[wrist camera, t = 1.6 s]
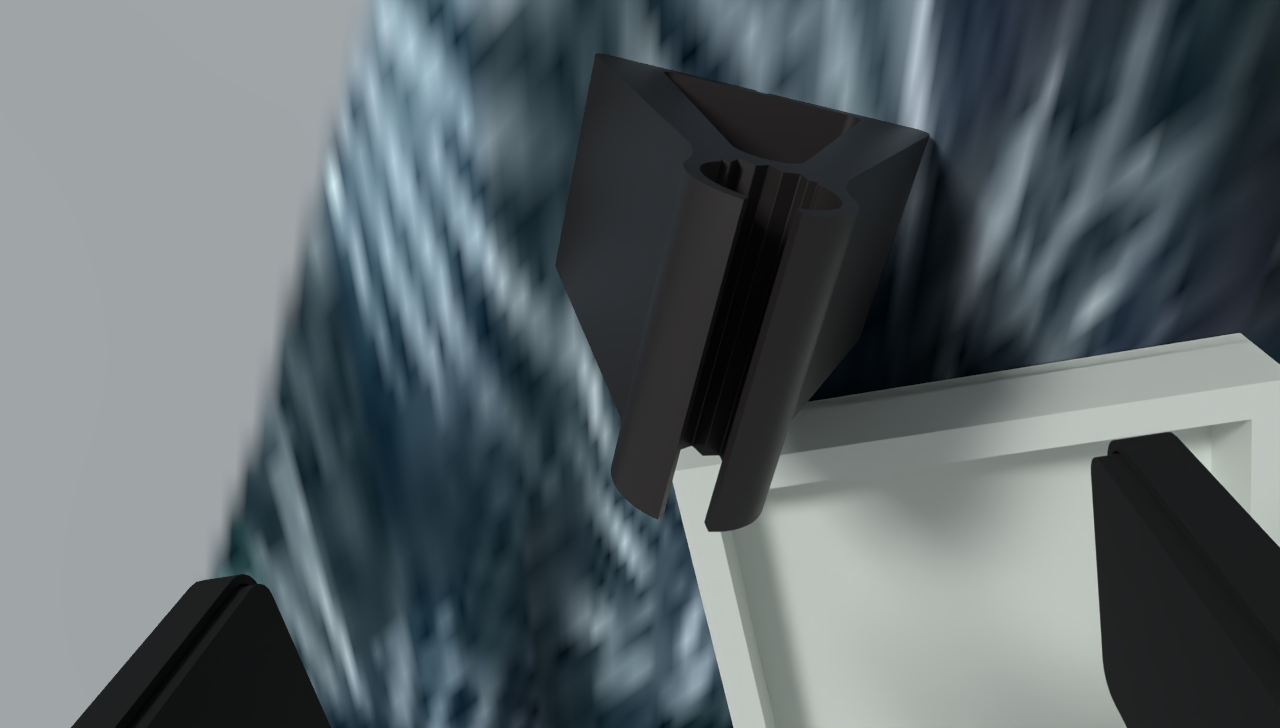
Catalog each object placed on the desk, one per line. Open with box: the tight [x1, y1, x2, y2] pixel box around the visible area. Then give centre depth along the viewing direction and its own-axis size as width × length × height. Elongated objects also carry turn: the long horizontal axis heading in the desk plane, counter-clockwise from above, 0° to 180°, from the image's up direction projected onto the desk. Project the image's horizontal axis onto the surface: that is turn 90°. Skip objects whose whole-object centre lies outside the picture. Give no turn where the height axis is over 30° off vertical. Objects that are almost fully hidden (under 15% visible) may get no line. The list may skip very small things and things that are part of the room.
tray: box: [672, 333, 1280, 728], centre depth 30 cm, size 16×17×3 cm
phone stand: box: [555, 54, 929, 532], centre depth 21 cm, size 9×6×12 cm, turn 78°
